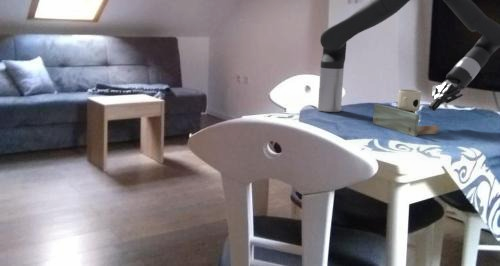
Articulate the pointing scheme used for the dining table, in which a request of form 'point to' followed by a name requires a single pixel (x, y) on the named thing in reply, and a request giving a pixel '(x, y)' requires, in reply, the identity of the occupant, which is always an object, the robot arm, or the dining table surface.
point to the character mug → (409, 100)
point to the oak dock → (401, 121)
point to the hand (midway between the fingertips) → (431, 108)
